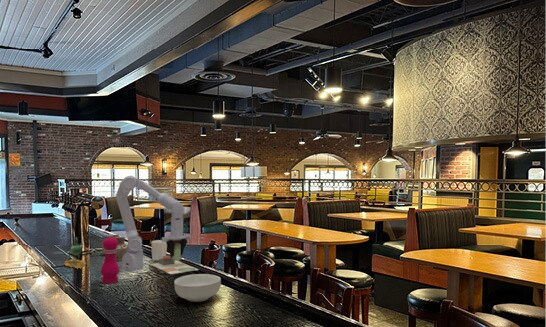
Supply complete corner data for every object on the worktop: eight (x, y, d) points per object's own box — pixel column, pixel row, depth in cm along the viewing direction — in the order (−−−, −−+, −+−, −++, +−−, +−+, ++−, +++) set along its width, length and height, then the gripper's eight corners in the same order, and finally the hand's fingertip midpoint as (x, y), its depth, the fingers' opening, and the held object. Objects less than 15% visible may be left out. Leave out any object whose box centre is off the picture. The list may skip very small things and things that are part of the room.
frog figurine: (82, 260, 211) (83, 232, 210) (89, 272, 196) (91, 241, 195) (61, 262, 205) (63, 233, 204) (67, 274, 191) (69, 243, 190)
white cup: (157, 263, 206) (157, 243, 206) (147, 261, 211) (148, 241, 211) (170, 260, 213) (170, 241, 213) (160, 258, 217) (160, 239, 217)
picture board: (199, 272, 189) (199, 265, 189) (170, 276, 181) (170, 269, 181) (176, 262, 209) (176, 256, 209) (149, 266, 200) (150, 259, 200)
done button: (171, 260, 201) (171, 256, 201) (164, 261, 199) (164, 257, 199) (168, 259, 204) (168, 255, 204) (161, 260, 202) (161, 256, 202)
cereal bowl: (200, 289, 163) (200, 271, 163) (230, 297, 152) (230, 278, 152) (164, 299, 149) (164, 279, 150) (194, 309, 139) (194, 288, 139)
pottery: (110, 263, 206) (111, 239, 206) (99, 254, 226) (100, 232, 226) (133, 260, 212) (134, 237, 212) (120, 252, 233) (121, 231, 233)
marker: (178, 260, 195) (178, 245, 195) (170, 260, 196) (170, 244, 196) (182, 259, 199) (182, 243, 199) (174, 258, 200) (175, 243, 200)
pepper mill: (112, 284, 168) (113, 235, 168) (96, 283, 169) (97, 234, 169) (122, 279, 175) (123, 232, 175) (107, 278, 176) (108, 232, 176)
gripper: (166, 229, 190) (165, 258, 190) (194, 227, 199) (193, 255, 199) (160, 227, 196) (159, 256, 195) (188, 225, 204) (187, 252, 204)
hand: (176, 255), depth 197 cm, fingers closed on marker, 4 cm apart
